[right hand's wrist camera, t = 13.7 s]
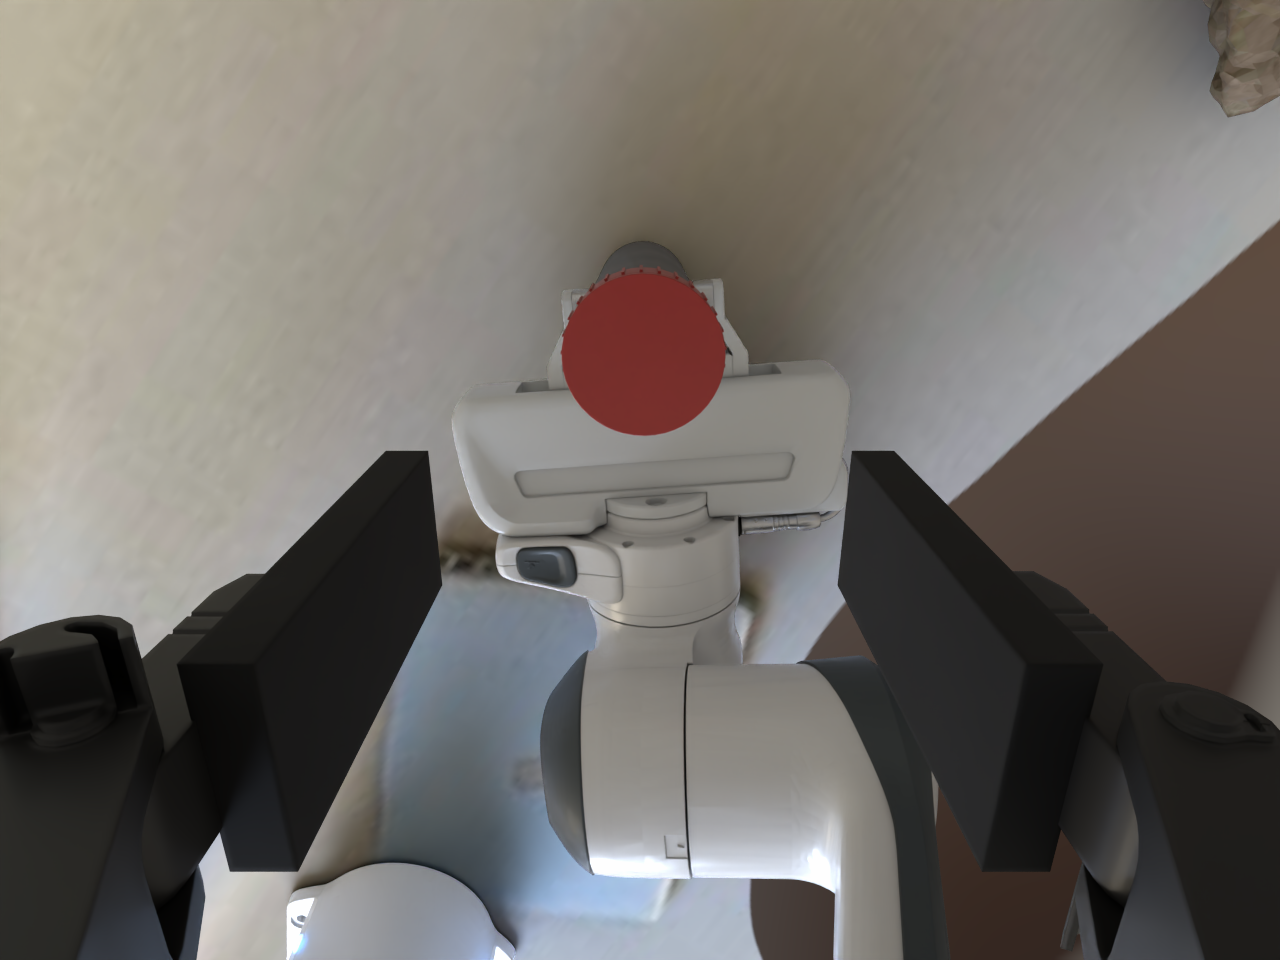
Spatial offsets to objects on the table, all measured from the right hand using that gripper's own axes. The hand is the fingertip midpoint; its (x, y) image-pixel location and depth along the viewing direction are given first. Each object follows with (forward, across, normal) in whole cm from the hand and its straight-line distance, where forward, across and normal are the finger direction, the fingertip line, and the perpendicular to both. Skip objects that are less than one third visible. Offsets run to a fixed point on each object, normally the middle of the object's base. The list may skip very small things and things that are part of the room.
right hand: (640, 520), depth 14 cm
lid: (+13, 0, 0) cm, 13 cm away
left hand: (+25, 0, -1) cm, 25 cm away
